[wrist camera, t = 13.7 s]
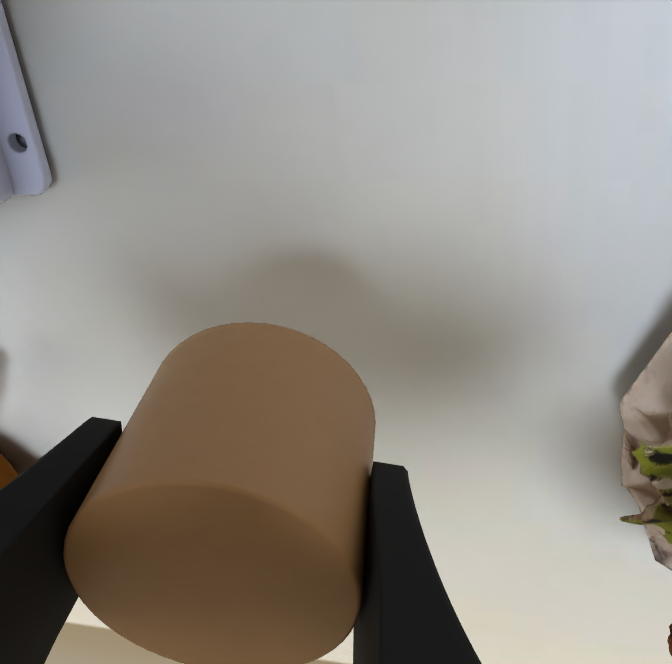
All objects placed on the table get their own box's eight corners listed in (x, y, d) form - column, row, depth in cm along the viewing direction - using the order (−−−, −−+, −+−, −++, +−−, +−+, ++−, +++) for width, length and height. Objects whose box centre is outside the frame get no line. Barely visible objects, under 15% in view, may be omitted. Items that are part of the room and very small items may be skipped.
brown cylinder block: (377, 499, 16) (365, 684, 12) (175, 490, 17) (103, 663, 13) (374, 322, 13) (356, 489, 9) (131, 318, 14) (21, 475, 10)
